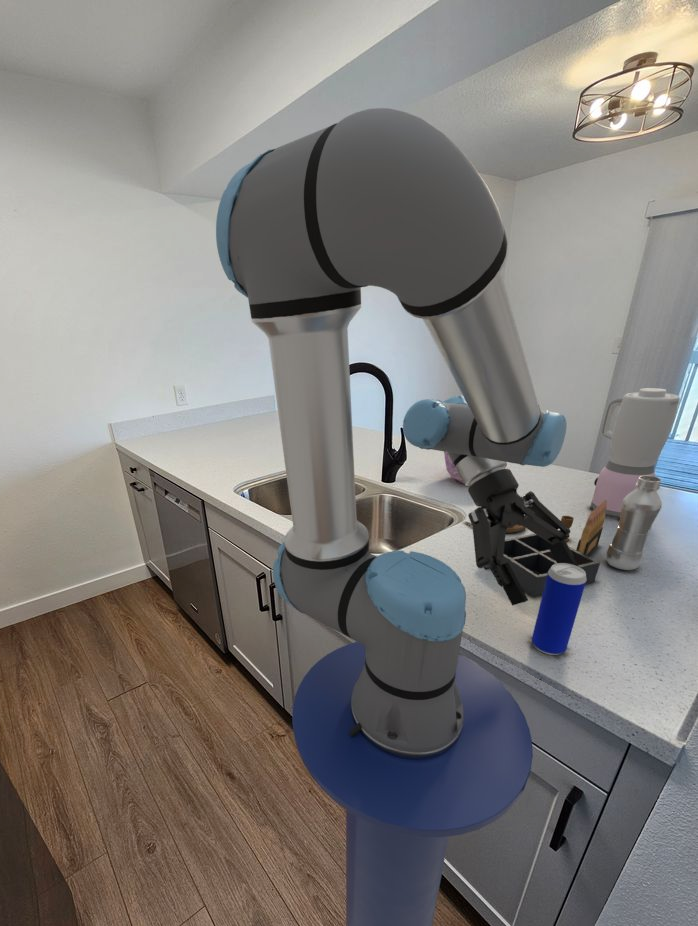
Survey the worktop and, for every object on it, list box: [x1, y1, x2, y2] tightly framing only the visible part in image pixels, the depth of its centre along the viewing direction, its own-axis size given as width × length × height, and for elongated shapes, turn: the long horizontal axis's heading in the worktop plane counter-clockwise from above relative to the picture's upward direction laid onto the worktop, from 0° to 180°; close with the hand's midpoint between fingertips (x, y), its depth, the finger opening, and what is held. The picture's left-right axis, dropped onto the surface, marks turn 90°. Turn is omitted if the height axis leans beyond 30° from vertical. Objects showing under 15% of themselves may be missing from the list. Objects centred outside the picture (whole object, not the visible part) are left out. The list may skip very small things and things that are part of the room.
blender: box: [589, 387, 681, 518], centre depth 112 cm, size 16×12×32 cm
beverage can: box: [531, 563, 587, 656], centre depth 70 cm, size 5×5×15 cm
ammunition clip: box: [575, 499, 607, 557], centre depth 97 cm, size 11×2×12 cm, turn 133°
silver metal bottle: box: [605, 476, 663, 571], centre depth 90 cm, size 6×7×20 cm
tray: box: [502, 533, 601, 598], centre depth 93 cm, size 15×15×5 cm
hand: (549, 590), depth 71 cm, fingers open, 13 cm apart
